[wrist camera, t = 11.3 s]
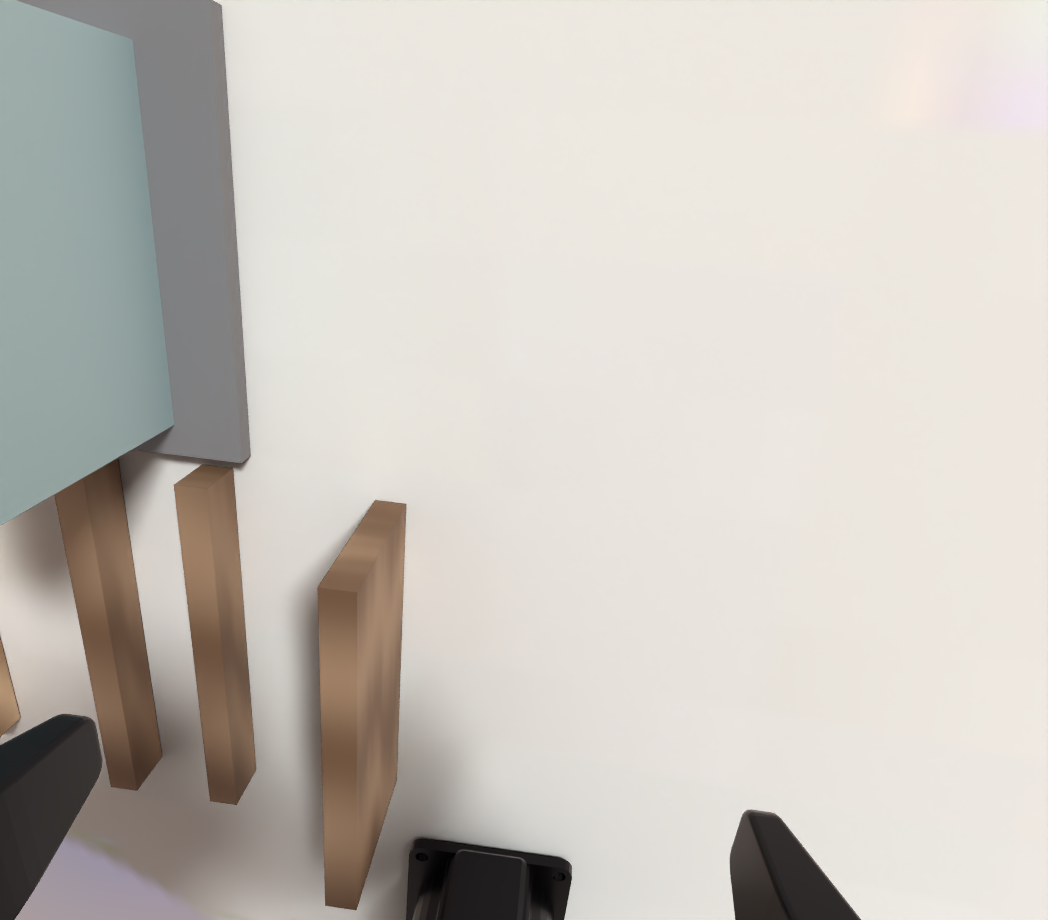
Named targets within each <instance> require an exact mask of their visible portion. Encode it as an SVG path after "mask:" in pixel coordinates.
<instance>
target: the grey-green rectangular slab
mask: <svg viewBox="0 0 1048 920" xmlns="http://www.w3.org/2000/svg"><path fill="white" fill-rule="evenodd" d="M173 425H174V418H173V409H172V399H171V390H170V381H169V372H168V362H167V353H166V344H165V335H164V326H163V316H162V307H161V298H160V289H159V279H158V270H157V261H156V252H155V243H154V233H153V224H152V215H151V206H150V196H149V187H148V178H147V169H146V160H145V150H144V141H143V132H142V123H141V113H140V104H139V95H138V86H137V77H136V67H135V58H134V49H133V40H132V39H130V38H127V37H124V36H121V35H118V34H115V33H112V32H109V31H106V30H103V29H100V28H97V27H94V26H91V25H88V24H85V23H82V22H79V21H76V20H73V19H70V18H67V17H64V16H61V15H58V14H55V13H52V12H49V11H46V10H43V9H40V8H37V7H34V6H31V5H28V4H25V3H22V2H19V1H16V0H0V526H1V525H2V524H4V523H6V522H8V521H9V520H11V519H13V518H14V517H16V516H18V515H20V514H21V513H23V512H25V511H27V510H28V509H30V508H32V507H33V506H35V505H37V504H39V503H40V502H42V501H44V500H46V499H47V498H49V497H51V496H52V495H54V494H56V493H58V492H59V491H61V490H63V489H64V488H66V487H68V486H70V485H71V484H73V483H75V482H77V481H78V480H80V479H82V478H83V477H85V476H87V475H89V474H90V473H92V472H94V471H96V470H97V469H99V468H101V467H102V466H104V465H106V464H108V463H109V462H111V461H113V460H115V459H116V458H118V457H120V456H121V455H123V454H125V453H127V452H128V451H130V450H132V449H134V448H135V447H137V446H139V445H140V444H142V443H144V442H146V441H147V440H149V439H151V438H153V437H154V436H156V435H158V434H159V433H161V432H163V431H165V430H166V429H168V428H170V427H172V426H173Z"/></svg>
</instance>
